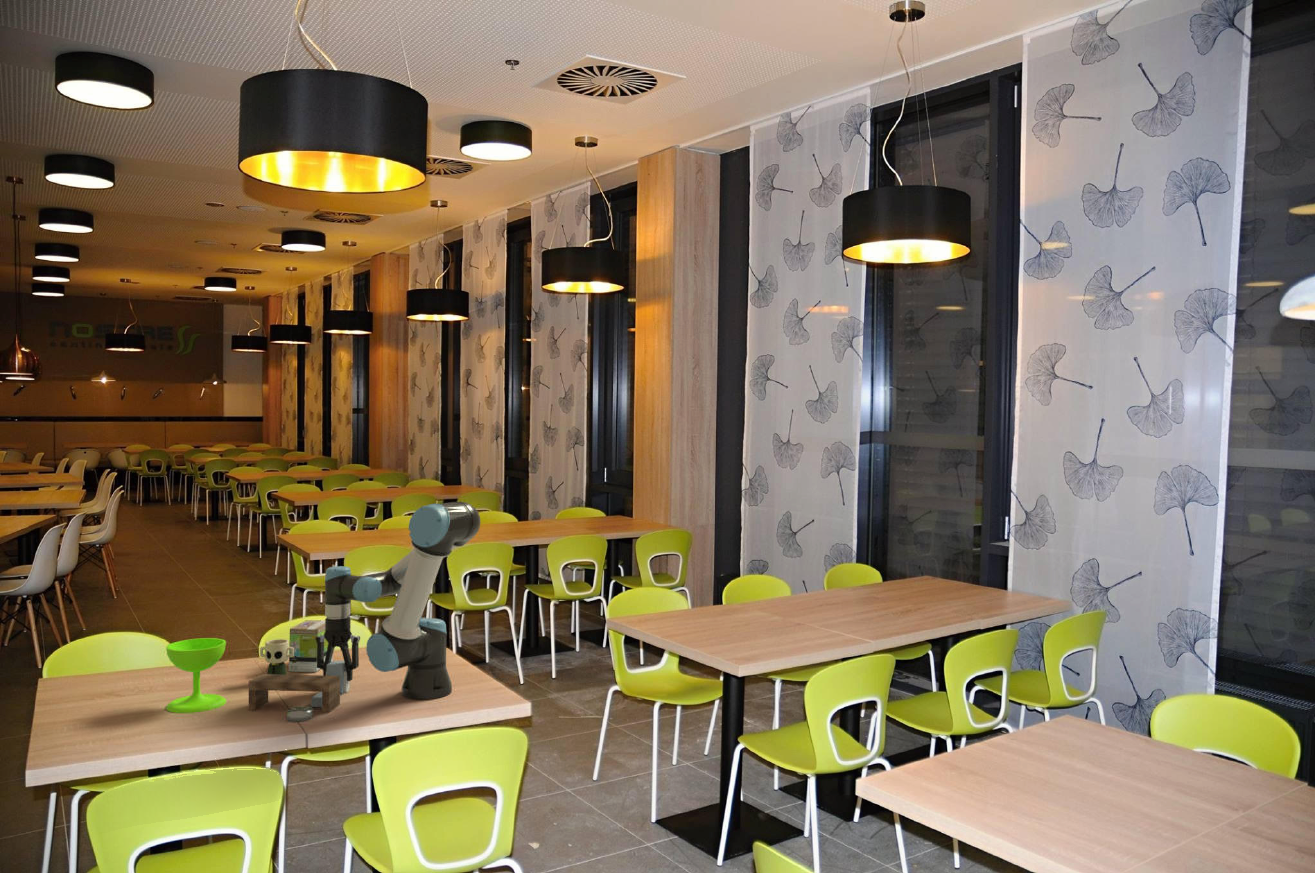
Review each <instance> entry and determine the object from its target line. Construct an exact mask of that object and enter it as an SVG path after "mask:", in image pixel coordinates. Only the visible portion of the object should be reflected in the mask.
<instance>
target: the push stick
mask: <svg viewBox="0 0 1315 873" xmlns="http://www.w3.org/2000/svg"><path fill="white" fill-rule="evenodd" d="M344 671H346V666H345V662H344V660H333V661H332V662H330V663H329V664H327V676H340V695H344V694H345V693H346V692H344ZM310 707H311V708H313V707H314V708H322V692H317V693H316V694H315V695H313V696H312V697H310Z"/></svg>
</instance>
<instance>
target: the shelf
mask: <svg viewBox="0 0 1315 873" xmlns="http://www.w3.org/2000/svg"><path fill="white" fill-rule="evenodd" d="M269 691H274V692H275V691H278V692H281V691H283V692H310V693H311V692H316V693H319V692H322V707H321V713H330V712H332V711H334V709H336V708H337V707H338V706H339V705H341V694H340V676H323V674H322V675H316V674H310V675H309V674H287V675H283V674H267V673H261V674H259V675H258V676H256V677H254V678H251V679H250V680H248V711H255V712H256V711H257V710H258V709H261V708H262V707H263V706H265V705H266V704H268V703H269Z"/></svg>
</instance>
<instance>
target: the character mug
mask: <svg viewBox="0 0 1315 873" xmlns="http://www.w3.org/2000/svg"><path fill="white" fill-rule="evenodd" d="M289 650H291V654H289ZM259 656H260V657H261V658H264V659H265V662H267V663H269V664H268V665H267V666H268V667H267V673H266V674H283V675H288V672H287V665H286V662H287V661H289V657H293V656H294V648H293V647H289V640H288V639H283V638H279V639H278V638H277V639H271V640H267V641H265V643H264V646H260V648H259Z"/></svg>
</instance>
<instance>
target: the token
mask: <svg viewBox="0 0 1315 873" xmlns="http://www.w3.org/2000/svg"><path fill="white" fill-rule="evenodd" d="M313 718H314V708H313V707H311V706H296V707H294V706H293V707H291V708H289V709H287V710H286V721H287V722H289V723H302V722H308V721H310V720H313Z"/></svg>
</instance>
